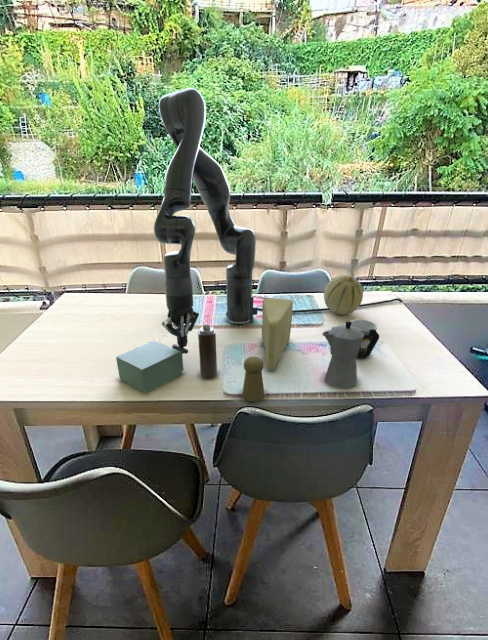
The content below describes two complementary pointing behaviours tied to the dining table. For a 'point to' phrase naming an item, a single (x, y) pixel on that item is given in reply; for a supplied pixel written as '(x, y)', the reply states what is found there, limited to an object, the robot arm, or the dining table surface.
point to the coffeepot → (346, 353)
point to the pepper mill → (207, 352)
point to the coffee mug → (366, 340)
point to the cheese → (276, 328)
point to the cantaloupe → (343, 294)
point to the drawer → (181, 350)
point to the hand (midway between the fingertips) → (182, 346)
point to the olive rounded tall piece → (253, 379)
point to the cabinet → (149, 366)
